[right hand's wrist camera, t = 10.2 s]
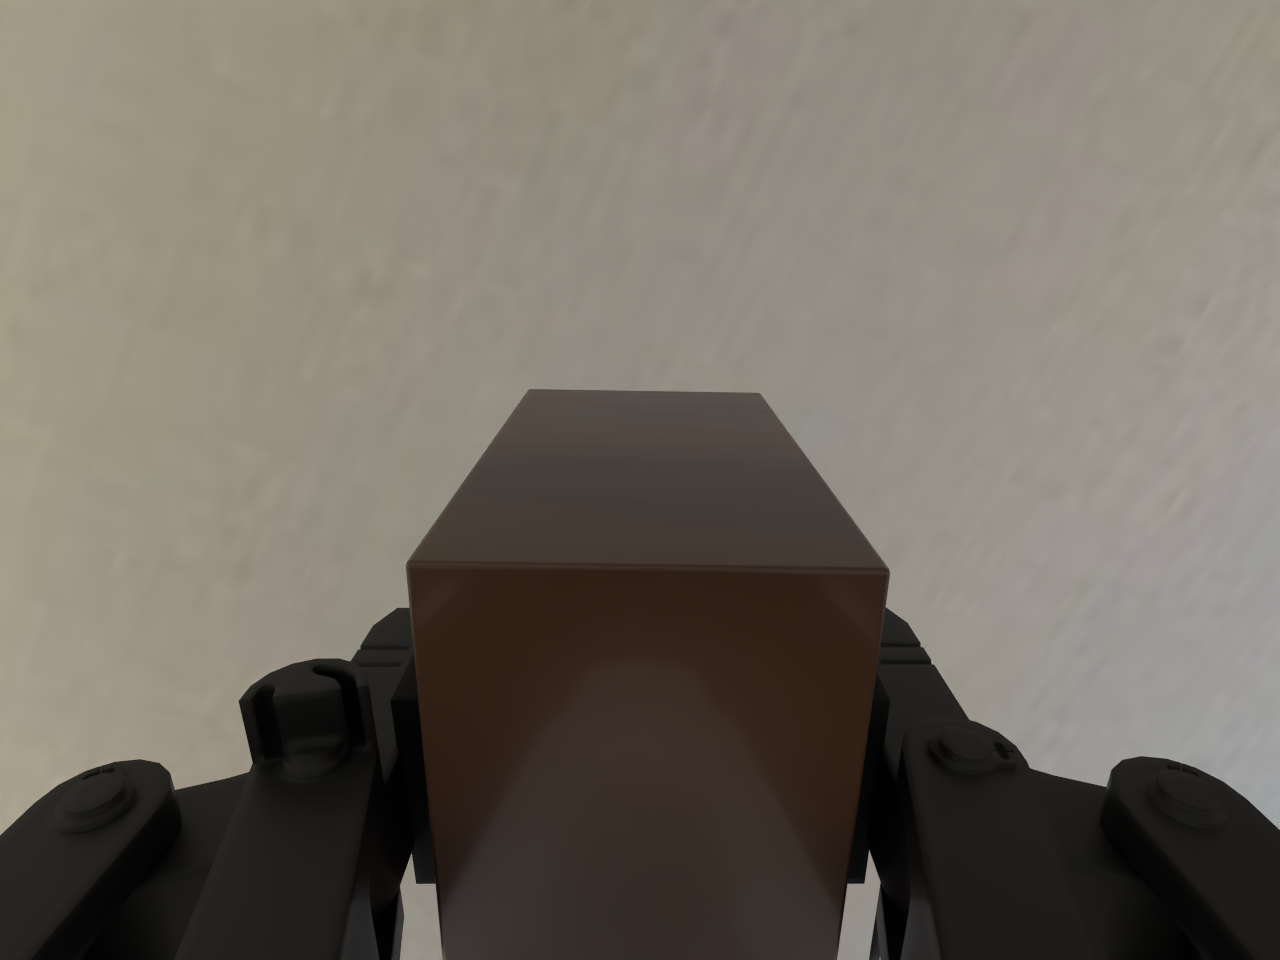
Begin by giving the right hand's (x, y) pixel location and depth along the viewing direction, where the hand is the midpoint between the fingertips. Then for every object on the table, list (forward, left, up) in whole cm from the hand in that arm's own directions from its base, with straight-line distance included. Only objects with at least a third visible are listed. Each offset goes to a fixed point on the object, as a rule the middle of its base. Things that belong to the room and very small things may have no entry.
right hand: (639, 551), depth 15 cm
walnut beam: (+9, +7, +1) cm, 12 cm away
